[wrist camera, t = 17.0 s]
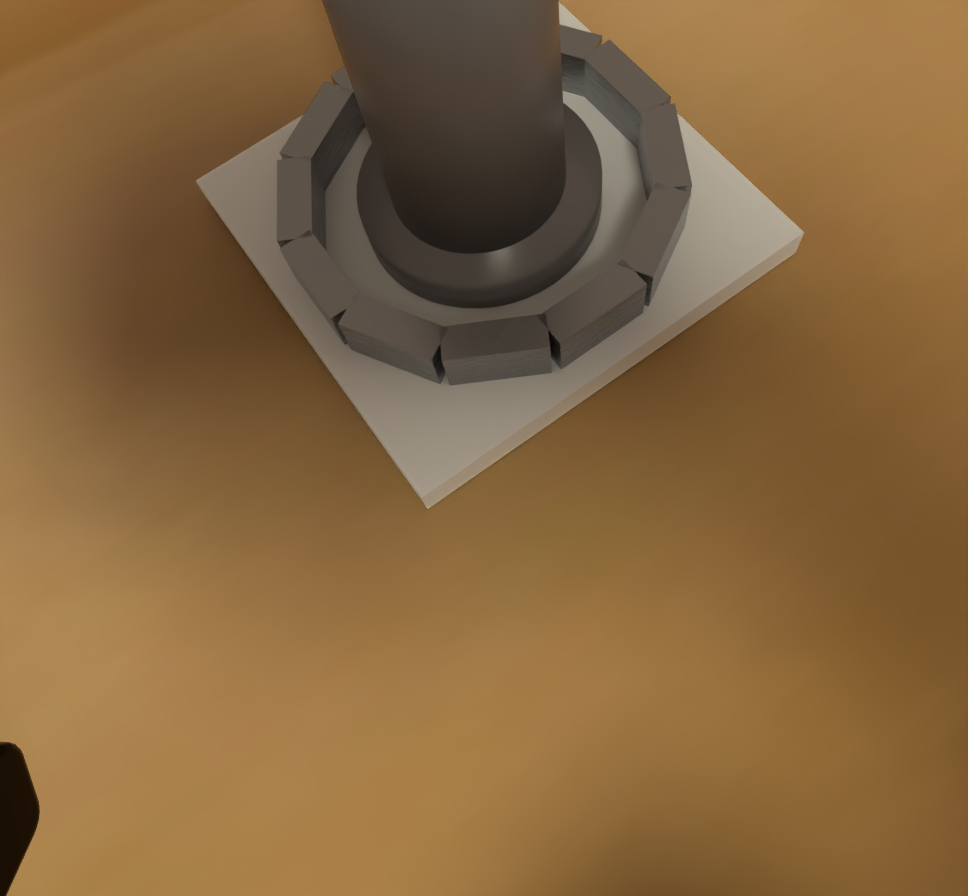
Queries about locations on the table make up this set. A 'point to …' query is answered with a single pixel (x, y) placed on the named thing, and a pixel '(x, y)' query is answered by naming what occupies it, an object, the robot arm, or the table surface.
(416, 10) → the pipe fitting
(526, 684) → the table surface
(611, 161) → the flange plate
